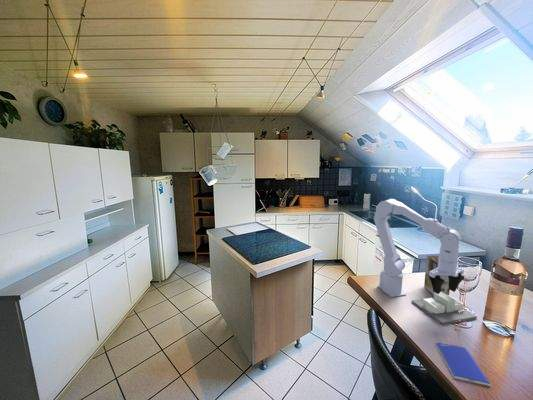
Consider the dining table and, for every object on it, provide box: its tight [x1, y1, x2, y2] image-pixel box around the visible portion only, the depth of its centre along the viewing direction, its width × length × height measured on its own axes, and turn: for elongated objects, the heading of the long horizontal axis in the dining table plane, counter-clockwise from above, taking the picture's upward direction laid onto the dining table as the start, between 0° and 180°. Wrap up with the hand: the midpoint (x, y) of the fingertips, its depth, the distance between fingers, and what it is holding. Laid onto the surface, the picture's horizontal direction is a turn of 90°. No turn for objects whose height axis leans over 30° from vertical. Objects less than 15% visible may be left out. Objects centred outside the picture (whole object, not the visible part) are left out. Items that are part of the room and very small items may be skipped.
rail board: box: [411, 294, 478, 326], centre depth 92 cm, size 14×16×4 cm
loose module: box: [433, 292, 456, 313], centre depth 91 cm, size 6×4×5 cm, turn 11°
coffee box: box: [423, 255, 451, 296], centre depth 104 cm, size 9×6×16 cm
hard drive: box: [435, 342, 491, 387], centre depth 67 cm, size 2×8×12 cm
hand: (444, 291), depth 91 cm, fingers open, 7 cm apart
